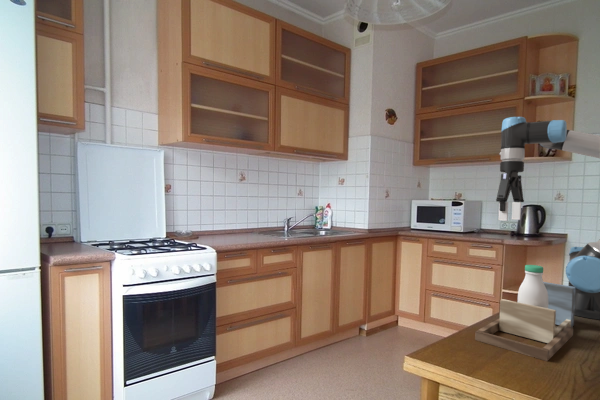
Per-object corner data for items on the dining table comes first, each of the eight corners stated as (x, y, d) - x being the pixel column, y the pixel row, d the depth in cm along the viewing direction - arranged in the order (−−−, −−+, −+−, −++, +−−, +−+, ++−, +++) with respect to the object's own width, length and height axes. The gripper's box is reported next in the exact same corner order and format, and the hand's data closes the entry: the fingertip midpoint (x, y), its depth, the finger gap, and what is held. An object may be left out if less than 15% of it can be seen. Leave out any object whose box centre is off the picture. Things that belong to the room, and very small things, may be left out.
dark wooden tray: (508, 320, 123) (509, 312, 123) (572, 335, 111) (573, 327, 111) (475, 339, 105) (475, 331, 105) (547, 361, 93) (547, 351, 93)
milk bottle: (551, 340, 107) (554, 269, 106) (521, 337, 108) (523, 267, 108) (541, 330, 114) (543, 264, 114) (512, 327, 116) (515, 262, 116)
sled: (525, 314, 129) (526, 279, 129) (573, 325, 119) (575, 287, 119) (499, 330, 113) (500, 290, 112) (552, 344, 103) (554, 300, 102)
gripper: (512, 164, 148) (510, 218, 148) (487, 158, 131) (485, 220, 131) (534, 163, 142) (532, 219, 143) (511, 157, 125) (508, 221, 126)
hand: (509, 220), depth 137 cm, fingers open, 13 cm apart
